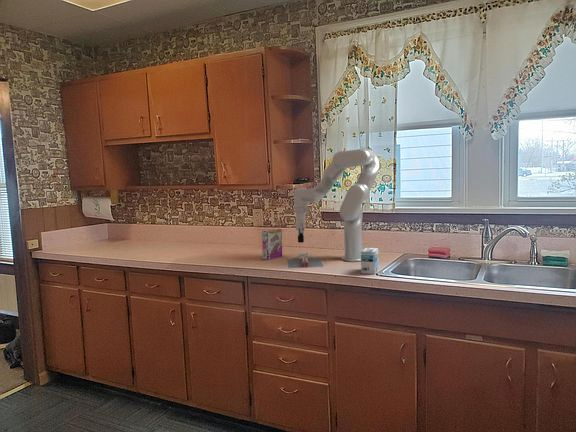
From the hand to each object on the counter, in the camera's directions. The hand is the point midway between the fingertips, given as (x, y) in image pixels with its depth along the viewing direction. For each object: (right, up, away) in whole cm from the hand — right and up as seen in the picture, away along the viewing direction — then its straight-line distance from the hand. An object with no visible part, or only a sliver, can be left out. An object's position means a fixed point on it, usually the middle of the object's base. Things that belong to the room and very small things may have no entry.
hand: (300, 242), depth 257 cm
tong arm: (+1, -10, -21) cm, 23 cm away
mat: (+2, -10, -17) cm, 20 cm away
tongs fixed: (+2, -10, -19) cm, 21 cm away
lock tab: (+1, -9, -7) cm, 11 cm away
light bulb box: (+32, -12, -39) cm, 52 cm away
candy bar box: (-16, -10, -1) cm, 18 cm away
